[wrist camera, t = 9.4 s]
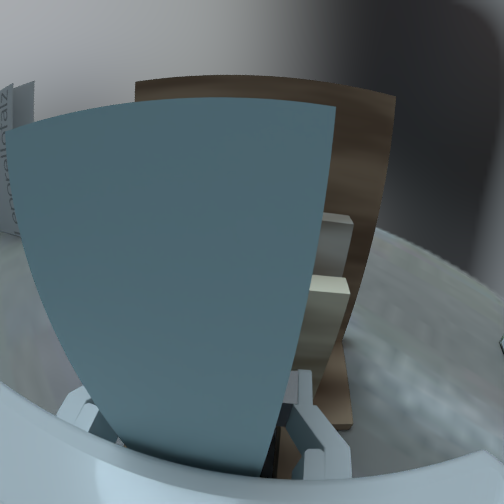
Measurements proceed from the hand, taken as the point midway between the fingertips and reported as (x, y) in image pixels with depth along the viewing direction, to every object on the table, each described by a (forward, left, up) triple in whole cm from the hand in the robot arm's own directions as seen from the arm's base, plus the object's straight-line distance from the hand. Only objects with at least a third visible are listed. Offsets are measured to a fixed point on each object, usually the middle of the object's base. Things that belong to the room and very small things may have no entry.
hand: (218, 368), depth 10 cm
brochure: (+29, +51, -11) cm, 60 cm away
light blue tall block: (-1, 0, -9) cm, 9 cm away
